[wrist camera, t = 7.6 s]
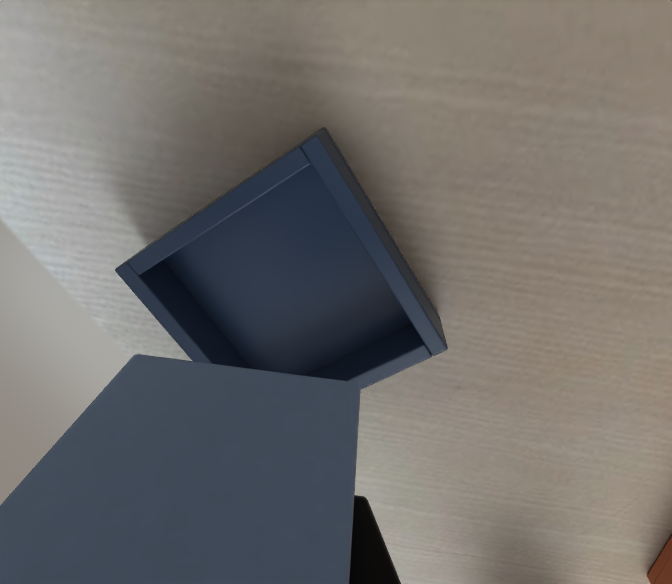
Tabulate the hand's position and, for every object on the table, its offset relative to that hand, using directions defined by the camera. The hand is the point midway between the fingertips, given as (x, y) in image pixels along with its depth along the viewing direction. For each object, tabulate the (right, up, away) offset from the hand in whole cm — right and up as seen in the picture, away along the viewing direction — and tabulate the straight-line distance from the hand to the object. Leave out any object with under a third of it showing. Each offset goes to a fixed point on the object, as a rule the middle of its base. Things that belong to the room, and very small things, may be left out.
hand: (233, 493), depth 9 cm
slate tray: (0, +4, +8) cm, 10 cm away
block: (0, 0, +1) cm, 1 cm away
